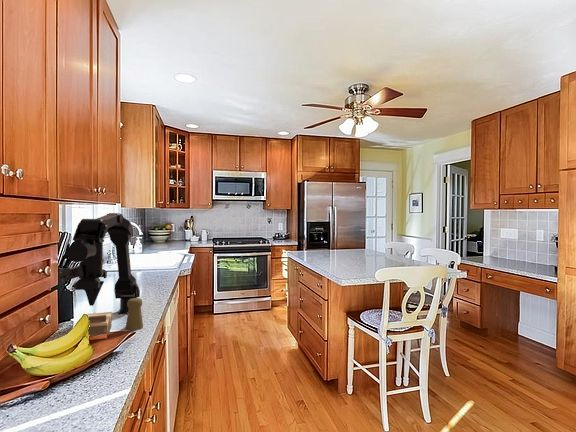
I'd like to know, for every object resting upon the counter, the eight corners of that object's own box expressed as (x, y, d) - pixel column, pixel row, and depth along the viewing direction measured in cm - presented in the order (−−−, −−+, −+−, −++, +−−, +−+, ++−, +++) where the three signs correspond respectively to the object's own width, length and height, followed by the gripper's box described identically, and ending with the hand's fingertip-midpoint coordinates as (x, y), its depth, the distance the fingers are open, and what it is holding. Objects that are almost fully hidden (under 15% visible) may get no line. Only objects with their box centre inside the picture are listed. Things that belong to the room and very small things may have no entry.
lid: (87, 316, 117) (87, 308, 117) (111, 314, 120) (111, 306, 120) (79, 328, 106) (79, 319, 106) (107, 325, 109) (107, 316, 109)
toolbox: (86, 329, 117) (87, 316, 117) (111, 326, 120) (111, 314, 120) (79, 341, 106) (79, 328, 106) (106, 338, 109) (107, 325, 109)
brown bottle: (138, 323, 124) (139, 295, 123) (146, 327, 120) (146, 298, 120) (122, 327, 119) (123, 298, 119) (129, 332, 115) (130, 301, 115)
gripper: (70, 254, 109) (69, 299, 109) (54, 262, 92) (53, 316, 92) (107, 253, 113) (106, 297, 113) (98, 261, 96) (97, 312, 96)
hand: (91, 305), depth 103 cm, fingers closed
